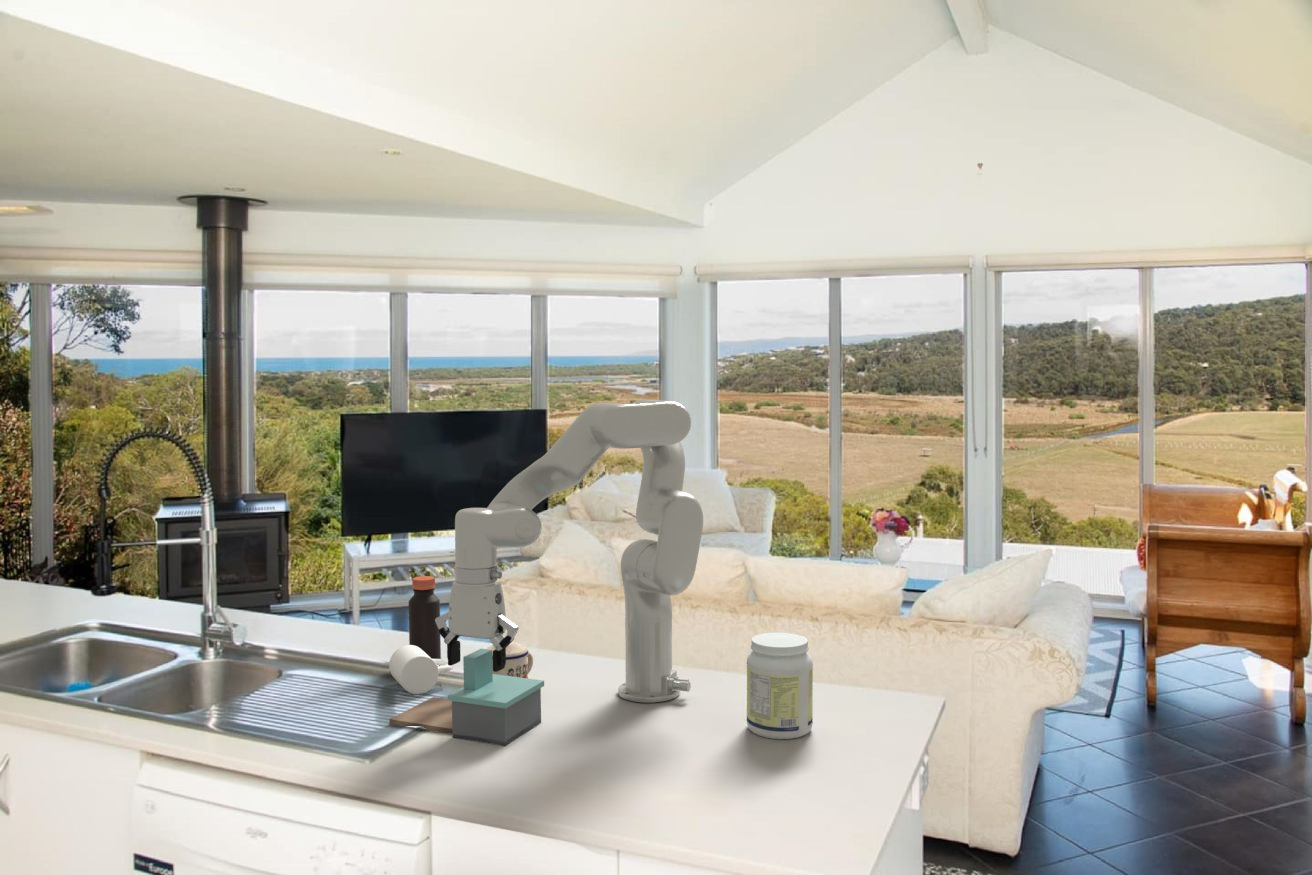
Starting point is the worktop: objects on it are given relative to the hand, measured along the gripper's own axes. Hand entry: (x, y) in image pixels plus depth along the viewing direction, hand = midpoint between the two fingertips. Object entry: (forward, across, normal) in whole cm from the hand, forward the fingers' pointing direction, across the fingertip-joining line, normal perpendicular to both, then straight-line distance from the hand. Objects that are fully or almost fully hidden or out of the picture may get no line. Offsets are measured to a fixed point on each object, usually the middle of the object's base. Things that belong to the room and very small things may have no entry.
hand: (476, 666), depth 195 cm
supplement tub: (+11, -52, -20) cm, 57 cm away
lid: (+6, -4, 0) cm, 7 cm away
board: (+12, +9, -2) cm, 15 cm away
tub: (+12, -4, 0) cm, 12 cm away
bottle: (+12, +32, -29) cm, 45 cm away
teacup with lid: (+12, +5, -21) cm, 25 cm away
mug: (+12, +24, -17) cm, 32 cm away
